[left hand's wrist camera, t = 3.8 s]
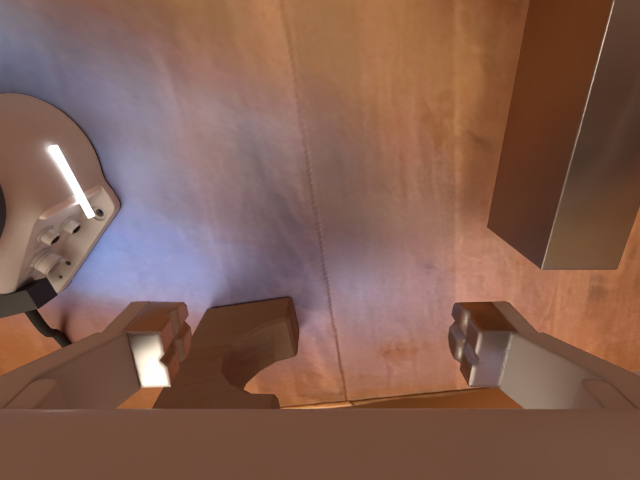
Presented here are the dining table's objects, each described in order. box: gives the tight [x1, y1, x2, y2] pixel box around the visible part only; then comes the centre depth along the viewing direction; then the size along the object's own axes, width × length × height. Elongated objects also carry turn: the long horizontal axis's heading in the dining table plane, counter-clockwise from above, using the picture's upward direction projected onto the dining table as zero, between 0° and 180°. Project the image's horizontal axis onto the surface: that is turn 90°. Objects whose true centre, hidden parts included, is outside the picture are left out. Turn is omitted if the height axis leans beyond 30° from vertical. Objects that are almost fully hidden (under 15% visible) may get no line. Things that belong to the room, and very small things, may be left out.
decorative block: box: [152, 298, 299, 409], centre depth 34 cm, size 11×6×20 cm, turn 98°
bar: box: [487, 0, 640, 270], centre depth 22 cm, size 27×5×8 cm, turn 0°
